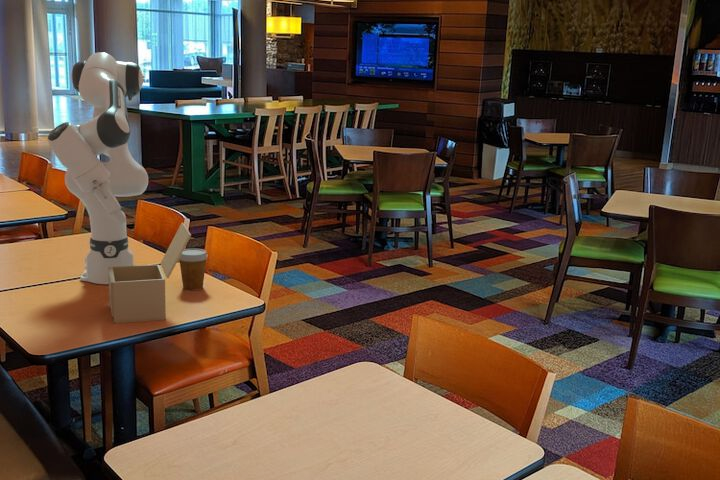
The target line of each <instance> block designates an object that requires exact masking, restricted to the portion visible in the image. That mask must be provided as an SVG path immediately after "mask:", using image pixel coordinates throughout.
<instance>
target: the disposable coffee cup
mask: <svg viewBox="0 0 720 480" xmlns="http://www.w3.org/2000/svg"><path fill="white" fill-rule="evenodd" d="M208 256H209V255H208V254H207V251H206V250H205V249H202V248H186V249H185V248H184V250H183V252H182V254H181V256H180V258H179V259H178V261H179V267H180V268H179V269H180V274H181V283H182V287H183V289H184V290H187V289H188V290H189V291H196V290H195V289H198V290H200V288H201V289H203V288H202V287H204V279H205V271H206V265H207V259H208Z"/></svg>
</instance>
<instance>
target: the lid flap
mask: <svg viewBox="0 0 720 480" xmlns="http://www.w3.org/2000/svg"><path fill="white" fill-rule="evenodd" d="M191 236H192V234H191V233H190V231H189V230H188V228H187V226H186V225H185V223H184V222H181V224H180V225H179V227H178V229H177V231H176V233H175V235H174V237H173V238H172V240H171V243H170V244H169V246H168V248H167V250H166V252H165V254H164V255H163V257H162V259H161V261H160V264H159V265H161V266H160V267H161V268H162V272H163V273H164V277H165V279H170V276H171V274H172V273H173V270H174V269H175V267H176V265H177V263H178V261H179V258H180V256H181V254H182V252H183V250H184V249H185V248H186V246H187V245H188V242H189V241H190V239H191Z"/></svg>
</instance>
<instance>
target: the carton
mask: <svg viewBox="0 0 720 480" xmlns="http://www.w3.org/2000/svg"><path fill="white" fill-rule="evenodd" d="M161 268H162V267H161V266H160V264H142V265H140V264H139V265H134V266H119V267H108V277H109V284H108V296H109V297H108V299H109V307H110V312H111V317H112V318H113V324H125V323H138V322H139V323H140V322H149V321H151V322H153V321H163V320H164V321H165V320H166V318H167V317H166V315H167V313H166V311H167V310H166V277H165V275H164V274H163V273H164V272H163V270H162V269H161Z"/></svg>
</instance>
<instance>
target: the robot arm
mask: <svg viewBox="0 0 720 480" xmlns="http://www.w3.org/2000/svg"><path fill="white" fill-rule="evenodd" d="M70 78H71V80H70V81H71V83H72V86H73V88H74V89H75V90H76V91H77V92H78V93H79V95H80V97H81V99H82V100H83V101H84V102H85V103H87V104H88V105H90V106H91V107H93V111H92V119H89V120H88V121H86V122H83V123H81V124H76V125H73V124H72V123H70V122H69V121H67V122H62V123H61V124H59V125H57V126H55V127H54V129H52V130H51V131H50V132H49V134H48V136H47V142H48V144H49V147H50V149H51V151H52V152H53V153H54V155H55V156H56V158H57V160H58V161H59V162H60V164H61V165H62V166H63V167H64V168H66V171H65V174H64V184H65V186H66V188H67V190H68V191H69V192H70V193H71V194H72V195H74V196H75V197H76V198H78V199H79V200H80V201H81V202H82V204H83V205H84V206H85V209H86V211H87V214H88V217H89V223H90V234H91V235H90V237H89V238H90V239H89V247H90V251H89V252H88V253H87V254H86V256H85V257H84V264H85V270H84V271H83V273H82V274H81V276H80V277H79V280H80V281H83V282H88V283H92V284H97V285H109V277H108V267H119V266H135V265H134V264H135V263H134V262H135V261H134V253H133V252H131V251H130V250H129V237H128V236H127V216H126V214H125V212H124V211H123V210H121V209H122V206H121V205H120V203H119V201H118V200H117V197H119V198H121V197H128V198H129V197H134V196H141V195H142V194H143V193H145V191H146V190H147V187H148V185H149V174H148V172H147V170H146V169H145V168H144V166H143V165H142V164H140V163H138V161H136V160H135V159H134V157H133V156H132V154H131V152H130V150H129V145H128V141H129V139H130V136H131V126H130V123H129V120H128V109H127V108H128V106H127V100H128V101H129V102H130V101H132V99H133V98H134V97H136V96H137V95H138V94H140V92H141V90H142V87H143V84H144V73H143V72H142V68H141V66H139V64H137V63H135V62H133V61H132V62H131V61H127V62H126V61H119V60H116V58H115V57H114V56H113V55H111V54H110V53H107V52H104V51H103V52H101V51H100V52H95V53H92V54H91V55H90V56H89V57H88V58H87V60H80V61H77V62H76V63H74V64H73V66H72V69H71V74H70ZM127 98H128V99H127ZM100 155H105V156H107V157H108V158H109V161H107V162H106V161H105V162H104V161H103V162H102V161H101V159H99V158H98V157H97V156H100Z"/></svg>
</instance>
